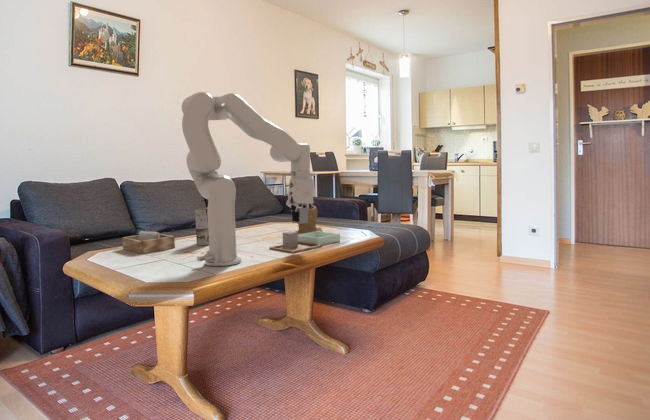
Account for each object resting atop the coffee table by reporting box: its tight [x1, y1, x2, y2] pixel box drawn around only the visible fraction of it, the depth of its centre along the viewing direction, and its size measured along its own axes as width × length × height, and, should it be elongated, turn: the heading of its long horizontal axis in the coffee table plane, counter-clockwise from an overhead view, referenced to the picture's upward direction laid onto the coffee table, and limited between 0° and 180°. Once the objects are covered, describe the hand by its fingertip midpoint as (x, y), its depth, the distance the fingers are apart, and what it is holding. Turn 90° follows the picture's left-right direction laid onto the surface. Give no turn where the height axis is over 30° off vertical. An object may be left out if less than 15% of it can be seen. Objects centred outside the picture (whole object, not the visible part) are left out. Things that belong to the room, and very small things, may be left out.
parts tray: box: [268, 242, 323, 254], centre depth 179 cm, size 16×14×2 cm
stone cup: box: [294, 204, 324, 234], centre depth 212 cm, size 15×12×15 cm
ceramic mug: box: [138, 230, 161, 241], centre depth 190 cm, size 11×8×8 cm
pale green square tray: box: [298, 231, 341, 246], centre depth 192 cm, size 14×14×4 cm
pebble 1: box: [282, 231, 298, 248], centre depth 181 cm, size 4×4×6 cm
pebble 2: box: [291, 206, 308, 224], centre depth 175 cm, size 4×4×6 cm
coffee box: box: [194, 206, 209, 246], centre depth 197 cm, size 9×6×16 cm
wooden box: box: [121, 233, 176, 255], centre depth 189 cm, size 15×17×5 cm
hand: (300, 220), depth 175 cm, fingers closed on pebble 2, 4 cm apart
